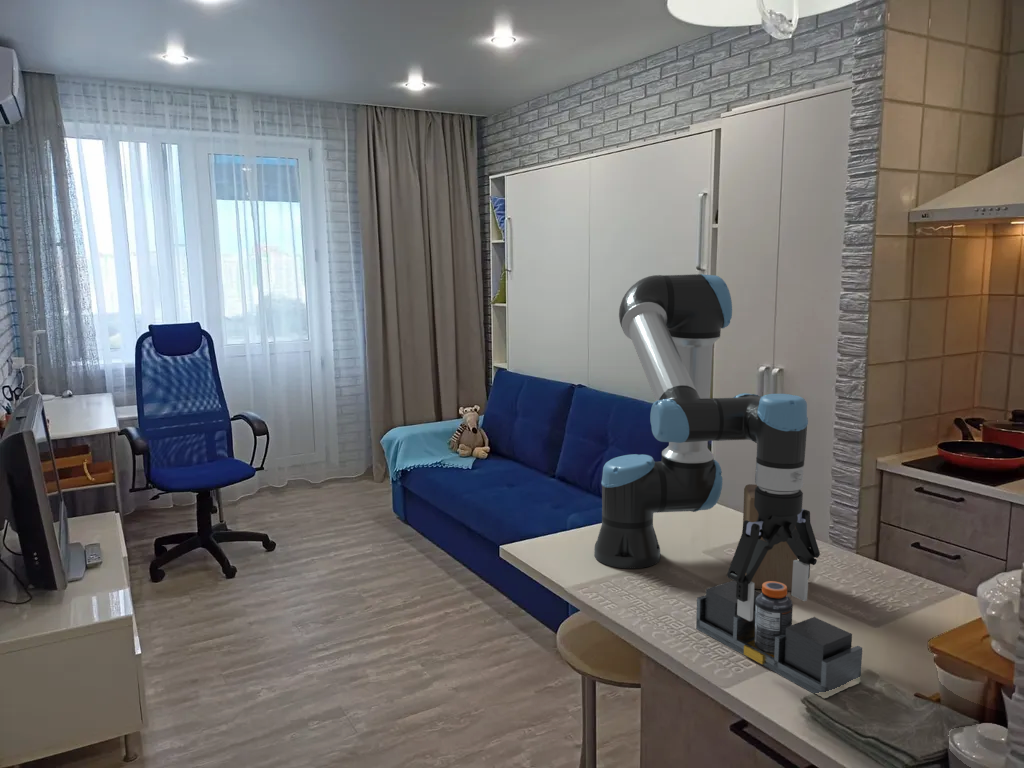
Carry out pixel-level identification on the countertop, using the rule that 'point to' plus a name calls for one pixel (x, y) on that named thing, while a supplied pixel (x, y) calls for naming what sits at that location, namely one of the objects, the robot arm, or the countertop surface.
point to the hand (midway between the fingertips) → (772, 607)
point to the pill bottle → (771, 615)
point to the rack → (783, 643)
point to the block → (778, 558)
